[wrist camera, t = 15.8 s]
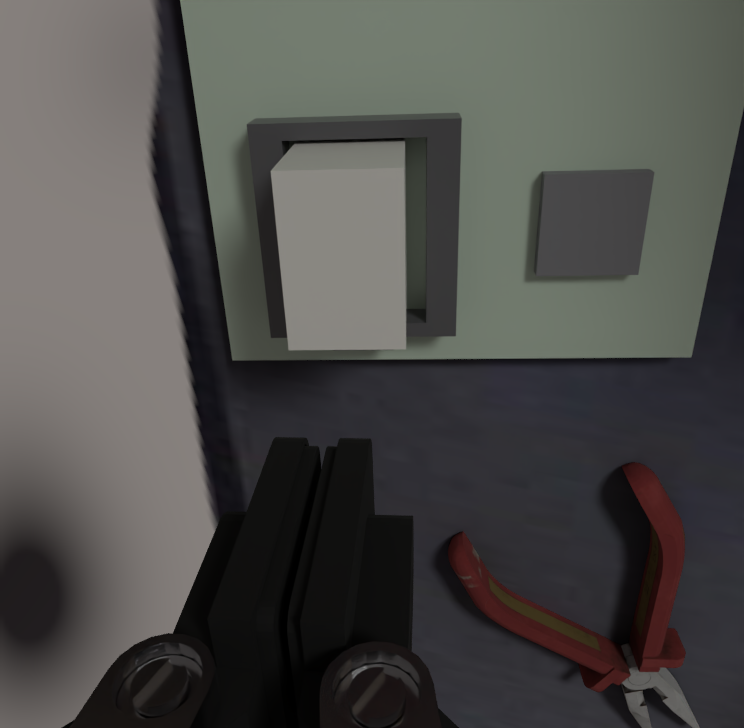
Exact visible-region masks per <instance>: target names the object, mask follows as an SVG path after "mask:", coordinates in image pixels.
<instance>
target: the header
mask: <svg viewBox="0 0 744 728" xmlns="http://www.w3.org/2000/svg"><path fill="white" fill-rule="evenodd" d="M461 128H462V118H461V116H460V114H459V113H427V114H392V115H357V116H322V117H287V118H255V119H254V120H252V121H251V122H249V123H248V124H247V132H248V141H249V150H250V159H251V168H252V176H253V185H254V194H255V203H256V212H257V220H258V229H259V238H260V247H261V256H262V264H263V273H264V282H265V291H266V300H267V309H268V317H269V326H270V335H271V338H287V329H286V319H285V309H284V299H283V289H282V279H281V269H280V259H279V249H278V240H277V230H276V220H275V210H274V200H273V190H272V180H271V170H272V169H273V168H274V167H275V165H276V164H277V163H278V162H279V161H280V160H281V159H282V157H283V156H284V155H285V154H286V153H287V152H288V151H289V149H290V148H289V141H298V140H336V139H374V138H412V137H426V309H406V337H442V336H456V313H457V276H458V239H459V202H460V165H461ZM333 351H342V350H333Z"/></svg>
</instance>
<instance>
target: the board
mask: <svg viewBox="0 0 744 728" xmlns="http://www.w3.org/2000/svg"><path fill="white" fill-rule="evenodd" d="M180 3H181V10H182V17H183V24H184V30H185V37H186V44H187V51H188V58H189V65H190V72H191V79H192V86H193V92H194V99H195V106H196V113H197V120H198V127H199V134H200V141H201V147H202V154H203V161H204V168H205V175H206V182H207V189H208V196H209V203H210V209H211V216H212V223H213V230H214V237H215V244H216V251H217V258H218V265H219V271H220V278H221V285H222V292H223V299H224V306H225V313H226V320H227V326H228V333H229V340H230V347H231V354H232V360H375V359H518V358H662V357H692V352H693V347H694V343H695V338H696V333H697V328H698V324H699V319H700V314H701V309H702V305H703V300H704V295H705V290H706V285H707V281H708V276H709V271H710V266H711V262H712V257H713V252H714V247H715V242H716V238H717V233H718V228H719V223H720V219H721V214H722V209H723V204H724V199H725V195H726V190H727V185H728V180H729V176H730V171H731V166H732V161H733V156H734V152H735V147H736V142H737V137H738V133H739V128H740V123H741V118H742V113H743V109H744V0H180ZM427 113H459V114H460V116H461V118H462V128H461V165H460V202H459V239H458V276H457V313H456V336H442V337H406V349H395V350H342V351H333V350H289V349H288V339H287V338H271V335H270V326H269V317H268V309H267V300H266V291H265V282H264V273H263V264H262V256H261V247H260V238H259V229H258V220H257V212H256V203H255V194H254V185H253V176H252V168H251V159H250V150H249V141H248V132H247V124H248V123H249V122H251V121H252V120H254V119H255V118H287V117H322V116H357V115H392V114H427ZM295 143H296V141H289V148H291V147H292V146H293V145H294V144H295ZM405 157H406V262H407V309H426V137H412V138H405Z"/></svg>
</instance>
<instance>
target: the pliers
mask: <svg viewBox="0 0 744 728" xmlns="http://www.w3.org/2000/svg"><path fill="white" fill-rule="evenodd" d="M622 469H623V471H624V473H625V475H626V477H627V479H628V481H629V483H630V485H631V487H632V489H633V491H634V493H635V495H636V497H637V498H638V500H639V502H640V504H641V506H642V508H643V510H644V511H645V513H646V515H647V517H648V518H649V522H650V530H651V536H650V547H649V552H648V556H647V561H646V565H645V570H644V574H643V578H642V583H641V587H640V592H639V596H638V601H637V605H636V610H635V614H634V619H633V623H632V628H631V633H630V637H629V641H628V642H629V643H628V644H624V645H622V646H621V645H620V644H618V643H615V642H613V641H611V640H609V639H607V638H605V637H603V636H601V635H599V634H597V633H595V632H593V631H591V630H589V629H587V628H585V627H583V626H581V625H578V624H576V623H574V622H572V621H570V620H568V619H566V618H564V617H562V616H560V615H558V614H556V613H554V612H552V611H550V610H547V609H545V608H543V607H541V606H539V605H537V604H535V603H533V602H531V601H529V600H527V599H525V598H523V597H521V596H519V595H517V594H515V593H513V592H512V591H510V590H509V589H507V588H506V587H504V586H503V585H502V584H500V583H499V582H498V581H497V580H496V579H495V578H494V577H493V576H492V575H491V574H490V573H489V571H488V570H487V569H486V567H485V565H484V564H483V562H482V560H481V559H480V557H479V556H478V554H477V552H476V551H475V549H474V547H473V546H472V544H471V543H470V541H469V540H468V538H467V536H466V535H465V533H464V532H460V533H458V534H456V535H455V536H454V537H453V538H452V539H451V542H450V544H449V549H448V557H449V561H450V564H451V567H452V568H453V570H454V571H455V573H456V575H457V576H458V578H459V579H460V581H461V583H462V584H463V586H464V587H465V589H466V591H467V592H468V594H469V596H470V597H471V599H472V600H473V602H474V604H475V605H476V606H477V607H478V608H479V609H480V610H481V611H482V612H483V613H484V614H485V615H486V616H487V617H489V618H490V619H492V620H493V621H494V622H496V623H498V624H499V625H501V626H502V627H504V628H506V629H508V630H509V631H511V632H513V633H515V634H518V635H520V636H522V637H524V638H526V639H528V640H530V641H532V642H535V643H537V644H539V645H541V646H543V647H545V648H547V649H549V650H552V651H554V652H556V653H558V654H560V655H562V656H564V657H566V658H569V659H571V660H573V661H575V662H577V663H578V664H579V668H580V671H581V675H582V679H583V682H584V685H585V686H586V687H587V688H590V689H592V690H594V691H596V692H601V691H603V690H604V689H606V688H607V687H608V686H609V685H610V684H612V683H614V684H616V685H620V684H621V685H622V689H623V692H624V695H625V699H626V702H627V705H628V708H629V711H630V712H631V714H632V715H633V716H634V718H635V719H636V720H637V722H638V723H639V725H640V726H641V727H642V728H651V723H650V719H649V715H648V710H647V706H646V703H645V700H644V697H643V693H642V692H643V689H647V688H653V689H654V690H655V691H656V692H657V693H658V694H659V695H660V696H661V699H662V701H663V702H664V703H665V704H666V705H667V706H668V707H669V708H670V709H671V710H672V711H673V712H674V713H676V714H677V715H678V716H679V717H681V718H682V719H683V720H684V721H685V722H687V723H688V724H689V725H690V726H692V727H693V728H700V727H699V725H698V723H697V721H696V719H695V717H694V715H693V713H692V711H691V709H690V707H689V705H688V703H687V701H686V699H685V697H684V695H683V693H682V691H681V688H680V687H679V685H678V683H677V682H676V680H675V679H674V677H673V676H672V675H671V674H670V672H669V671H668V670H667V669H666V668H678V667H680V666H682V664H683V661H684V658H685V654H686V652H685V649H684V647H683V644H682V642H681V640H680V638H679V636H678V633H677V631H676V630H675V629H672V628H667V627H668V623H669V619H670V616H671V612H672V608H673V604H674V600H675V596H676V592H677V588H678V584H679V580H680V576H681V572H682V568H683V562H684V553H685V534H684V530H683V525H682V521H681V518H680V517H679V515H678V513H677V511H676V509H675V508H674V506H673V504H672V502H671V501H670V499H669V497H668V495H667V494H666V492H665V490H664V488H663V487H662V485H661V483H660V481H659V479H658V478H657V476H656V475H655V474H654V472H653V471H652V470H650V469H649V468H648V467H646V466H645V465H642V464H640V463H635V462H632V463H628V464H625V465H622Z"/></svg>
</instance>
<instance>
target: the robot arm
mask: <svg viewBox="0 0 744 728" xmlns="http://www.w3.org/2000/svg"><path fill="white" fill-rule="evenodd" d="M412 617H413V516H396V515H375V510H374V485H373V459H372V442H371V439H355V438H340V439H339V442H338V446H337V447H334V446H328V447H327V448H326V452H325V456H324V461H323V465H322V469H321V461H320V451H319V447H318V446H309V444H308V440H307V438H285V437H276V438H274V440H273V442H272V445H271V447H270V450H269V453H268V455H267V458H266V461H265V464H264V466H263V469H262V472H261V474H260V477H259V480H258V483H257V485H256V488H255V491H254V493H253V496H252V499H251V502H250V504H249V507H248V510H247V512H225V513H224V514H223V516H222V517H221V519H220V521H219V524H218V526H217V528H216V531H215V533H214V536H213V538H212V540H211V543H210V545H209V548H208V550H207V552H206V555H205V557H204V560H203V562H202V564H201V567H200V569H199V572H198V574H197V577H196V579H195V582H194V584H193V586H192V589H191V591H190V594H189V596H188V598H187V601H186V603H185V605H184V608H183V610H182V613H181V615H180V617H179V620H178V622H177V625H176V627H175V629H174V632H173V634H169V633H168V634H163V635H158V636H154V637H150V638H148V639H146V640H144V641H142V642H139V643H137V644H135V645H134V646H132V647H131V648H130V649H128V650H127V651H126V652H124V653H123V654H121V655H120V656H119V657H118V658H117V660H116V661H115V662H114V663H113V664H112V665H111V667H110V668H109V669H108V670H107V672H106V674H105V675H104V677H103V678H102V679H101V681H100V682H99V684H98V685H97V687H96V688H95V690H94V691H93V693H92V694H91V696H90V697H89V699H88V700H87V702H86V703H85V705H84V706H83V708H82V710H81V711H80V712H79V714H78V715H77V717H76V719H75V720H74V721H72V722H70V723H69V724H67V725H65V726H64V727H62V728H459V727H458V726H456V725H455V724H454V723H453V722H452V721H451V720H450V719H449V718H448V717H447V716H446V715H445V714H444V713H443V712H442V711H441V710H440V709H438V705H437V700H436V694H435V689H434V683H433V680H432V678H431V675H430V672H429V669H428V668H427V666H426V665H425V664H424V663H423V661H422V660H421V659H420V658H419V656H417V655H416V654H414V653H413V652H412Z"/></svg>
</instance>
